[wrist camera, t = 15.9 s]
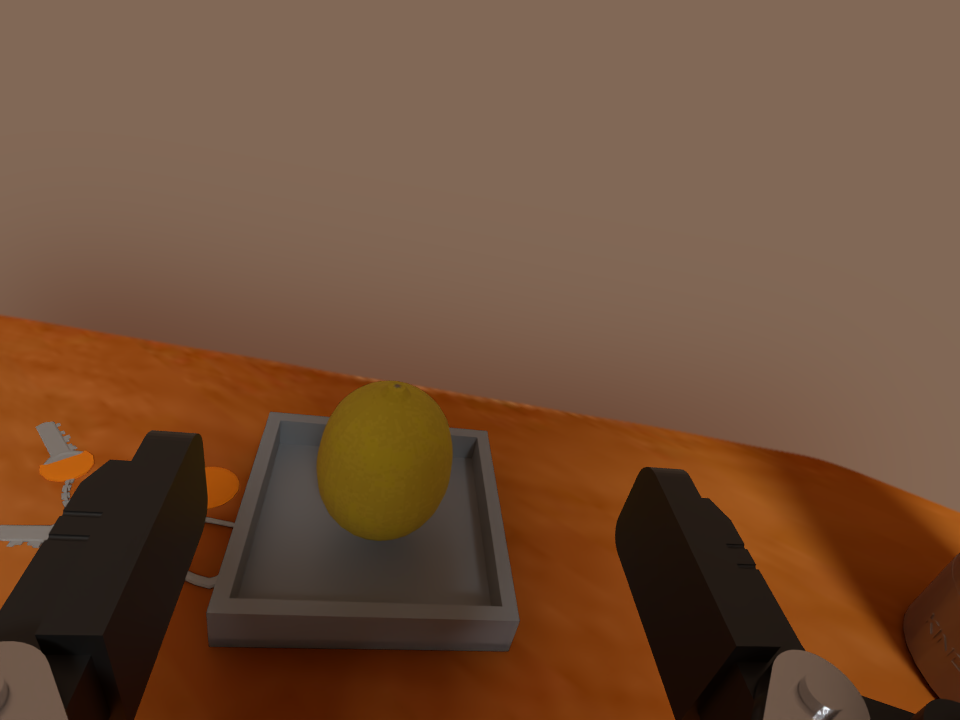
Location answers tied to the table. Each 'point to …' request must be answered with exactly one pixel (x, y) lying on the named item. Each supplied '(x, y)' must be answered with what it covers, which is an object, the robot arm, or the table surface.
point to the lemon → (384, 460)
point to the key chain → (77, 463)
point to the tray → (362, 560)
